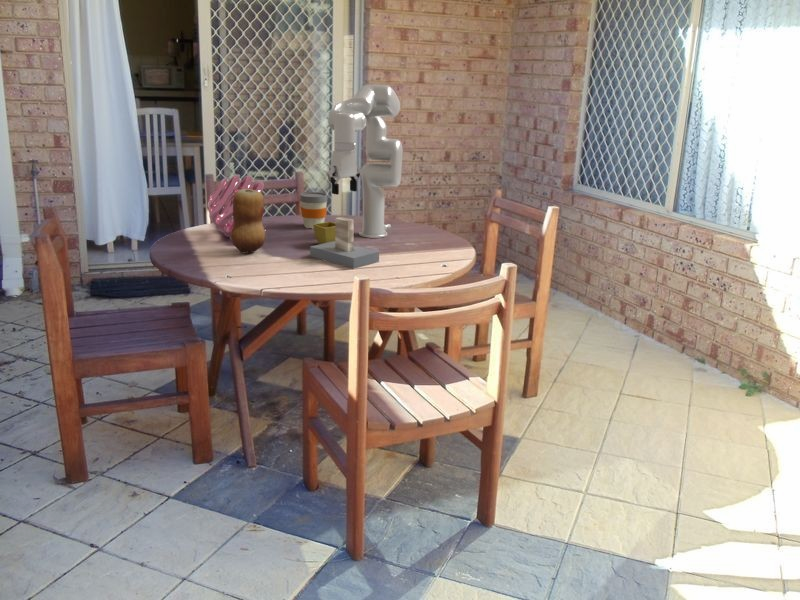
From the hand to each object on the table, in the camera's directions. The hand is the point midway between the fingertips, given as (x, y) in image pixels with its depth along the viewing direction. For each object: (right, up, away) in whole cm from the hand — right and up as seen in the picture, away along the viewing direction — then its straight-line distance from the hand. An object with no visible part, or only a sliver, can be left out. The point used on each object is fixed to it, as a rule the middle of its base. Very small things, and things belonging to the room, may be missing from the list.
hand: (344, 192), depth 279 cm
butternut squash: (-39, -22, +15) cm, 47 cm away
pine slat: (-1, -25, +8) cm, 26 cm away
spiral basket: (-49, -14, +39) cm, 64 cm away
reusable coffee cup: (-19, -7, +61) cm, 64 cm away
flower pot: (-9, -18, +28) cm, 35 cm away
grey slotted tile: (-1, -25, +8) cm, 26 cm away
